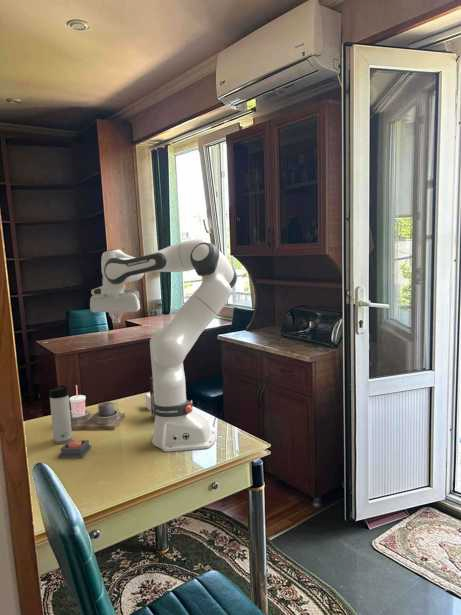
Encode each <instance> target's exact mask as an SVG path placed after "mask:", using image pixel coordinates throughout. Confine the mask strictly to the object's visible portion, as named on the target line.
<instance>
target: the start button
mask: <svg viewBox="0 0 461 615" xmlns="http://www.w3.org/2000/svg"><path fill="white" fill-rule="evenodd" d="M72 440H73V441H70V442H69V443H68V448H80V446H81V445H82V441H81V440H82V439H72Z"/></svg>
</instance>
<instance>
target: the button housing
mask: <svg viewBox="0 0 461 615" xmlns="http://www.w3.org/2000/svg"><path fill="white" fill-rule="evenodd" d="M73 440H74V439H72V440H69V441H68V442H67V443H64V445H63V446H62V447H61V448H60V454H59V455H58V458H59V459H83V458H84V457H85V456H86V455H87V454H88V452H90V450H91V449H92V444H90V442H89V439H80V440H81V441H82V445H81V446H80V448H68V443H69V442H70V441H73Z"/></svg>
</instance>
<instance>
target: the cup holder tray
mask: <svg viewBox="0 0 461 615" xmlns="http://www.w3.org/2000/svg"><path fill="white" fill-rule="evenodd" d="M97 408H98V410H97V411H96V412H95V413H91V411H90V410H88V409H86V408H85V415H83V416H79V417H73V416H72V410H70V419H71V430H72V431H97V430H98V431H105V430H106V431H107V430H109V431H114V430H116V429H117V428H118V427H119V425H120V424H121V423H122V421H123V420H124V419H125V418H126V416H125V415H126V413H120V410H117V409H116V408H115V402H112V401H111V402H110V401H106V402H105V401H104V402H102V403H99V404H98V405H97Z"/></svg>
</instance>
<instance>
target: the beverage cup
mask: <svg viewBox="0 0 461 615" xmlns="http://www.w3.org/2000/svg"><path fill="white" fill-rule="evenodd" d="M75 390H76V391H75V392H76V393H75V394H76V395H73V396H71V397H69V403H70V409H71V411H72V416H73V417H79V416H83V415H85V409H86V398H87V397H86V395H83V394H79V393H78V385H77V384H76V385H75Z"/></svg>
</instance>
